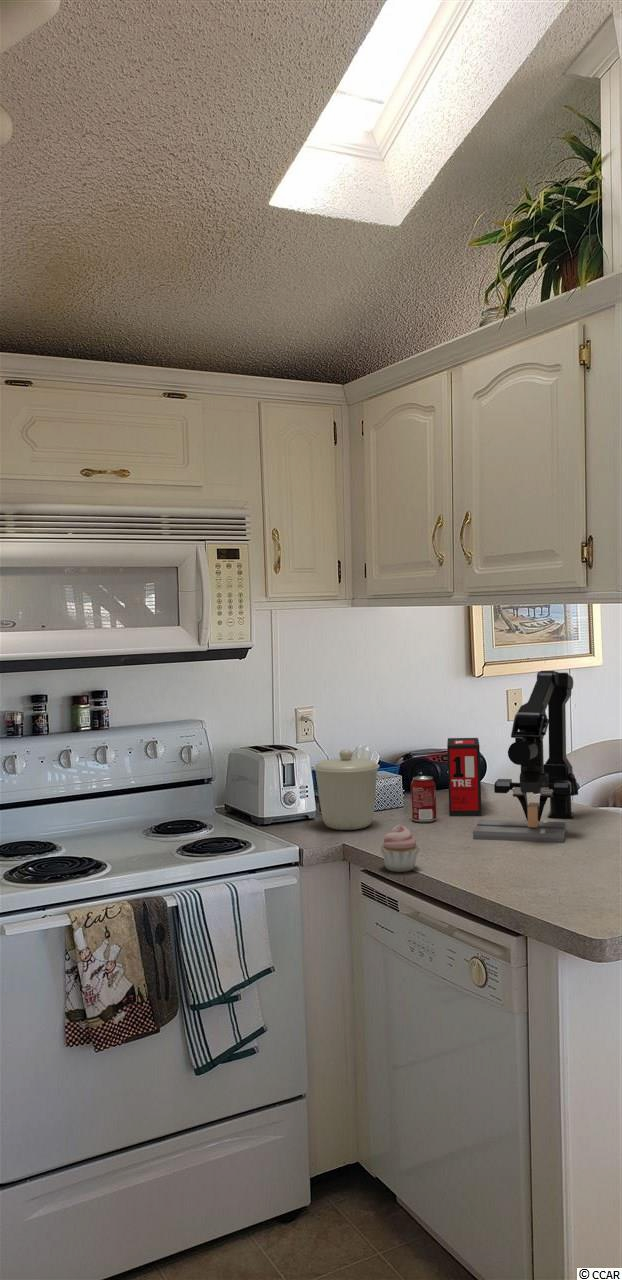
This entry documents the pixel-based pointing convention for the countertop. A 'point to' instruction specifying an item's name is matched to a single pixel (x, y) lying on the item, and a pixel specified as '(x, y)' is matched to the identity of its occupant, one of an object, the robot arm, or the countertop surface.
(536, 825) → the tan rectangular block
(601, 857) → the countertop surface
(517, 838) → the console
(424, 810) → the soda can
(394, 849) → the cupcake
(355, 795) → the canister
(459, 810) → the cleaning product box
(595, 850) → the countertop surface
